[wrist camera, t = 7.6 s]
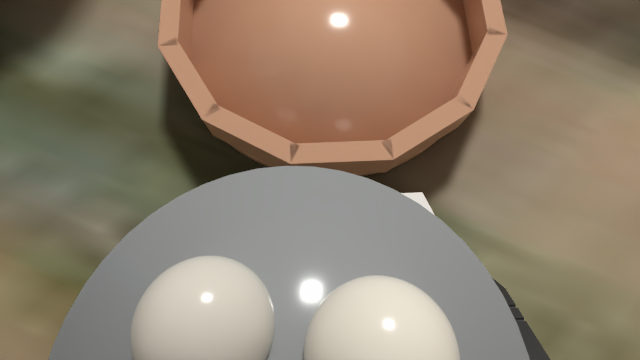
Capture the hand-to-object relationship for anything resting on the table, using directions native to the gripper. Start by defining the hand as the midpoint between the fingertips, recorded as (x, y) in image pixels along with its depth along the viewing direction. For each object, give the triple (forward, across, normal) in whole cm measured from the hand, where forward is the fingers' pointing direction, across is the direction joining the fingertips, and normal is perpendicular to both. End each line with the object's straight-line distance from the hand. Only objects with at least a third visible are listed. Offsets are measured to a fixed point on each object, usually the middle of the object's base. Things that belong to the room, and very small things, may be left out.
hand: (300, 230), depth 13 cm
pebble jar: (0, 0, -5) cm, 5 cm away
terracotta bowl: (+13, +2, +4) cm, 14 cm away
